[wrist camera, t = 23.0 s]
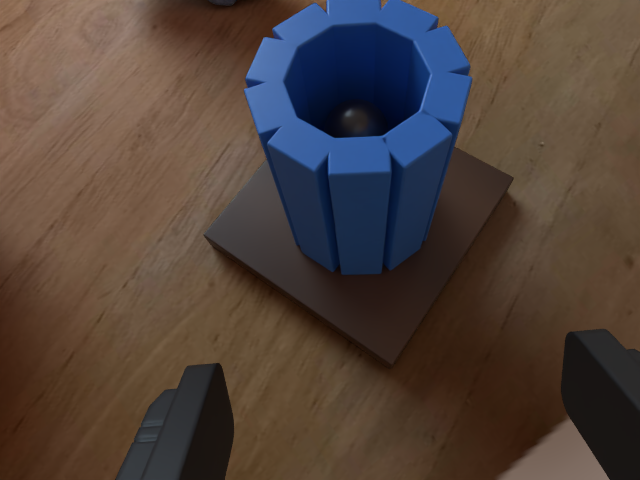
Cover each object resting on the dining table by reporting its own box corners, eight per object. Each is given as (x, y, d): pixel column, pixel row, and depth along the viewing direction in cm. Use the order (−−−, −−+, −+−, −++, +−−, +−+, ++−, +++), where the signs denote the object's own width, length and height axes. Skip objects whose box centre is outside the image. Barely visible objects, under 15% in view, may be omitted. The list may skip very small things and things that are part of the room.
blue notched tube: (381, 305, 20) (392, 218, 13) (258, 223, 22) (200, 104, 15) (460, 189, 22) (513, 49, 14) (339, 123, 24) (328, -33, 16)
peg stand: (390, 369, 21) (405, 328, 13) (210, 244, 23) (139, 152, 16) (507, 190, 23) (573, 72, 16) (332, 97, 26) (320, -40, 19)
